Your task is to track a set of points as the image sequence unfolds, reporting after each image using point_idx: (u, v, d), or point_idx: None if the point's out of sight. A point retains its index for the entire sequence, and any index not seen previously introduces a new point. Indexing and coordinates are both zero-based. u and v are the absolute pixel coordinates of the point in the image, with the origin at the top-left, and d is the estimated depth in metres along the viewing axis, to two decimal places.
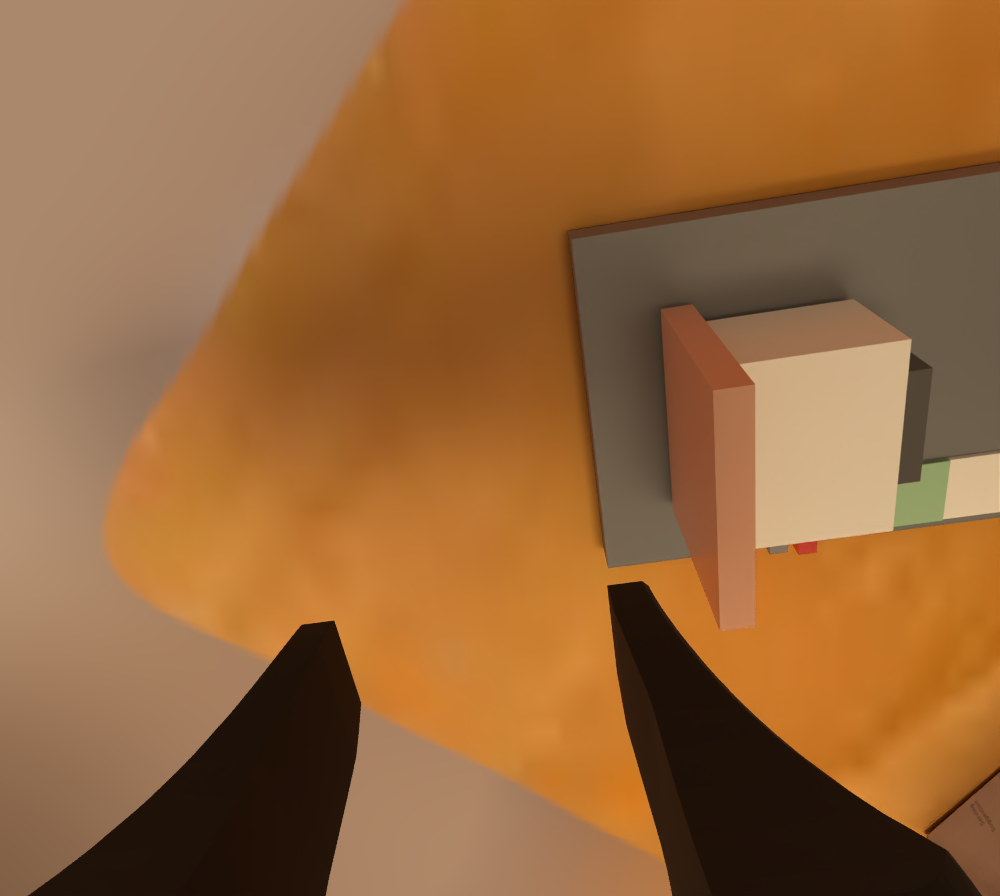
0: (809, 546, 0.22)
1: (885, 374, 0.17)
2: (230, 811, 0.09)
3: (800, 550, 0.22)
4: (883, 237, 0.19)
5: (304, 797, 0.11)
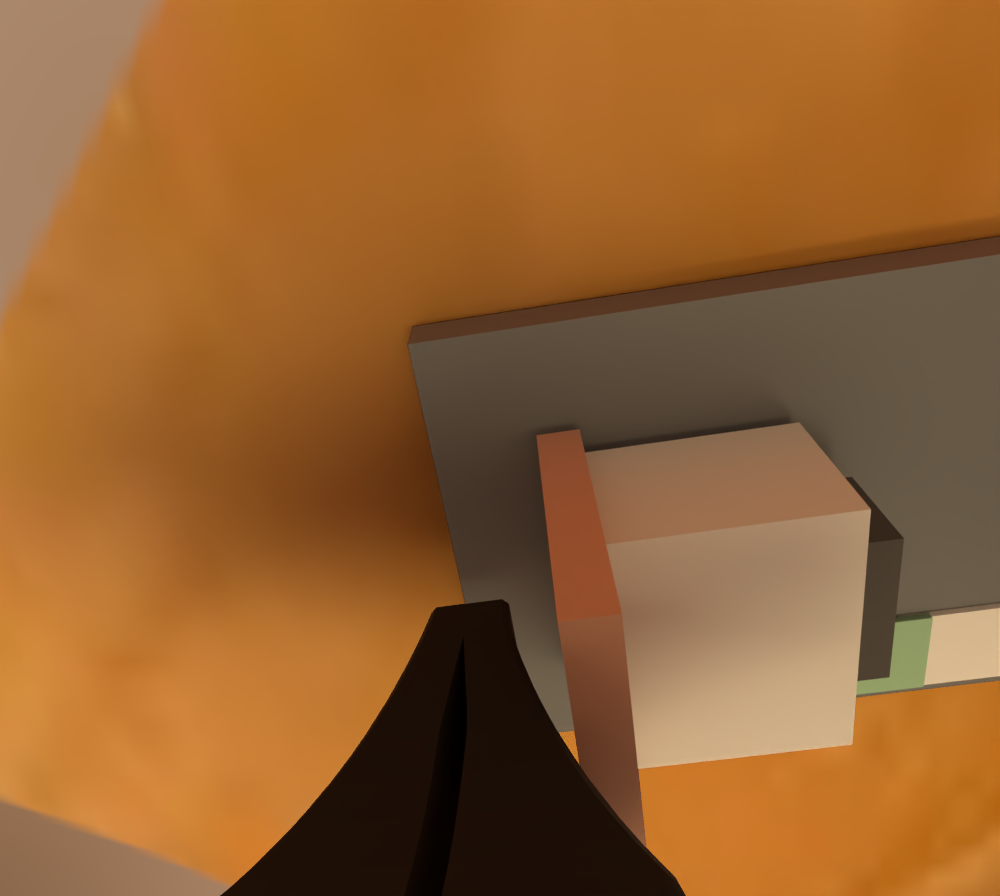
0: None
1: (834, 554, 0.12)
2: (430, 788, 0.09)
3: None
4: (837, 341, 0.14)
5: None
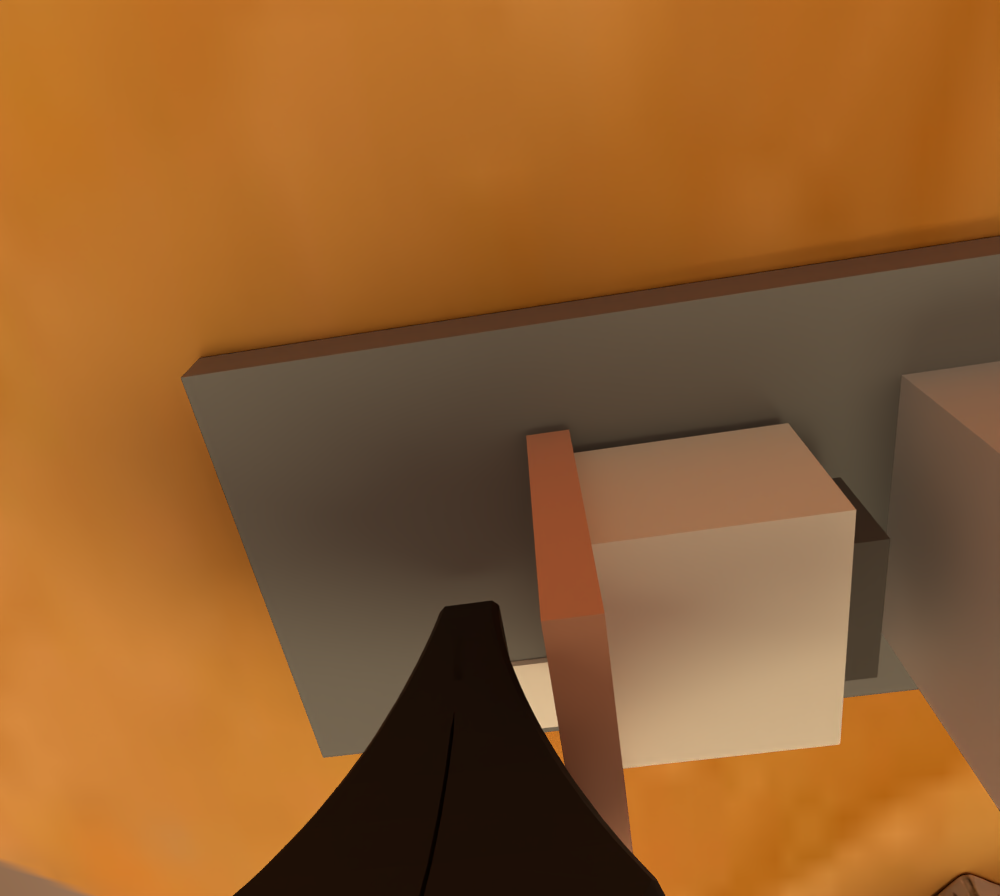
0: None
1: (820, 554, 0.12)
2: (442, 787, 0.09)
3: None
4: (600, 375, 0.14)
5: None
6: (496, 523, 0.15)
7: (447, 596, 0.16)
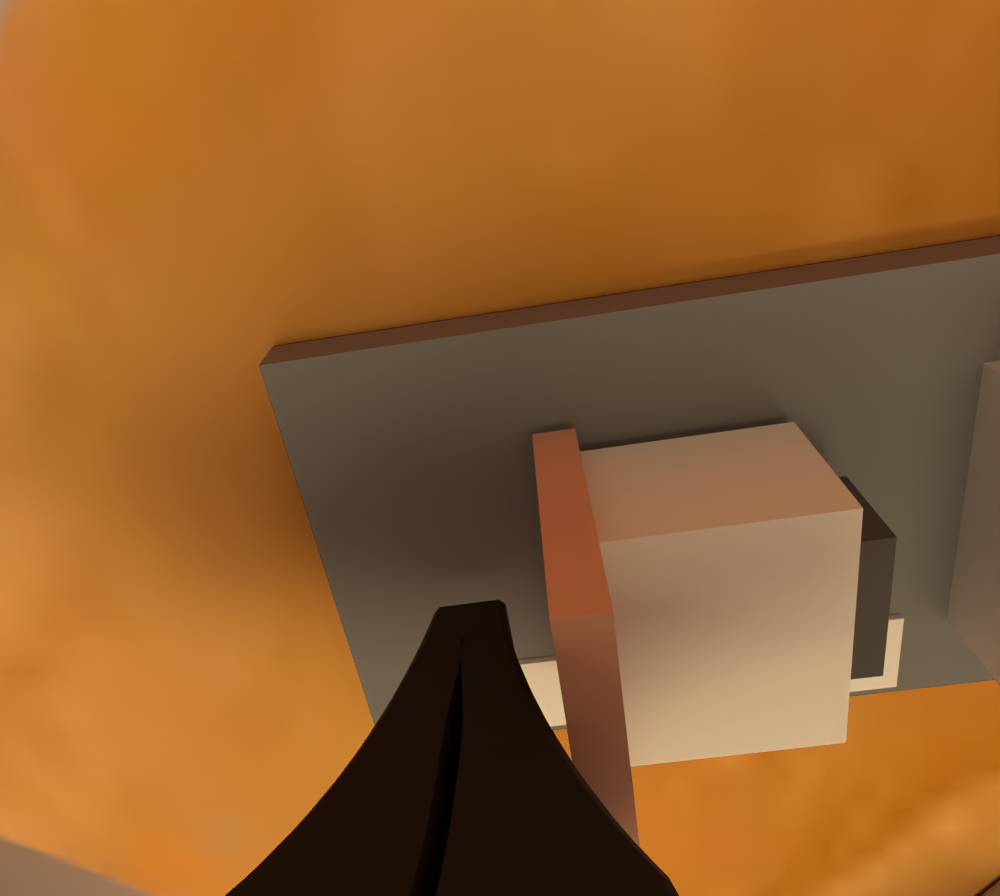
0: None
1: (827, 553, 0.12)
2: (434, 788, 0.09)
3: None
4: (681, 363, 0.14)
5: None
6: None
7: (515, 586, 0.16)
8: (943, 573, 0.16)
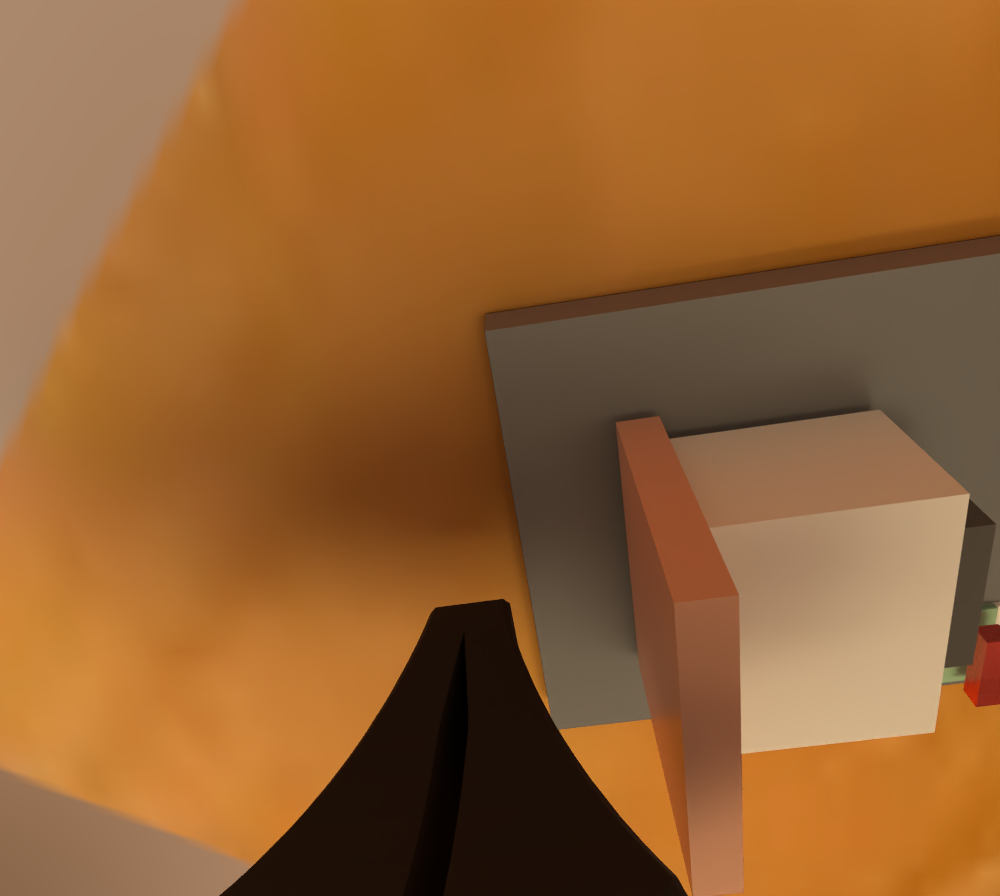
0: (992, 697, 0.16)
1: (930, 539, 0.12)
2: (429, 789, 0.09)
3: (979, 701, 0.16)
4: (914, 328, 0.14)
5: None
6: None
7: None
8: None
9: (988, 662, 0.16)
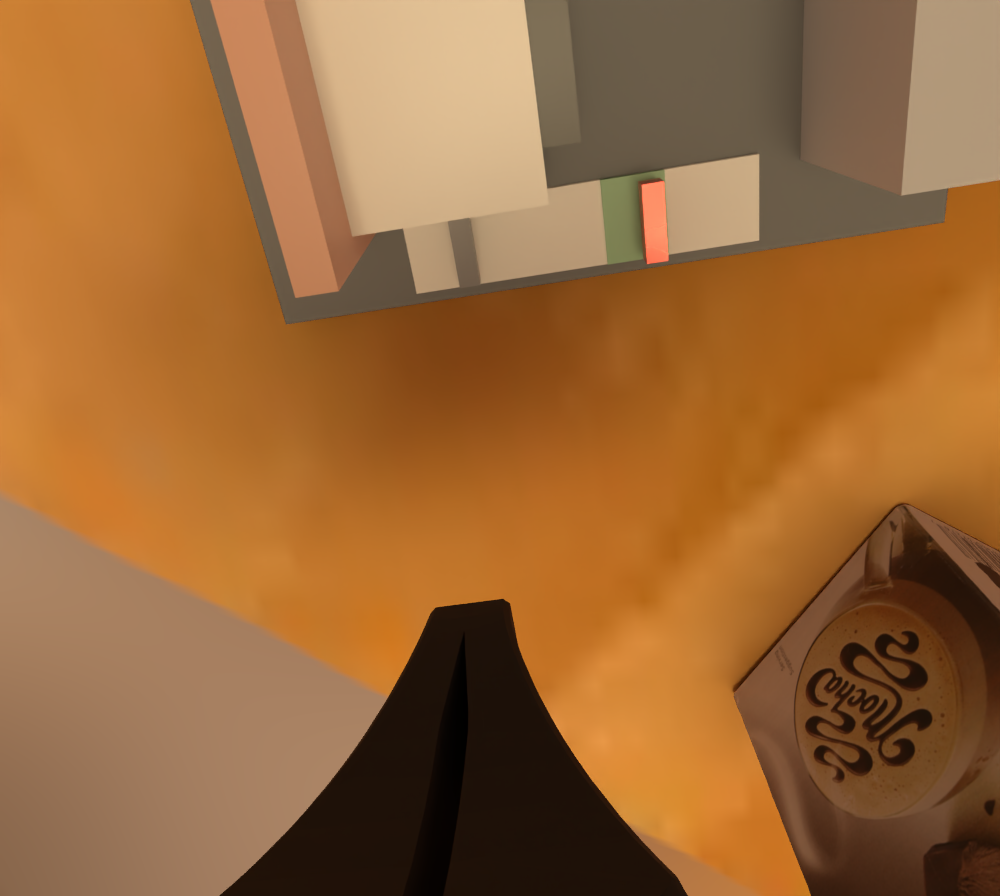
0: (659, 252, 0.18)
1: None
2: (428, 789, 0.09)
3: (649, 257, 0.18)
4: None
5: None
6: None
7: None
8: (792, 102, 0.17)
9: (648, 210, 0.17)
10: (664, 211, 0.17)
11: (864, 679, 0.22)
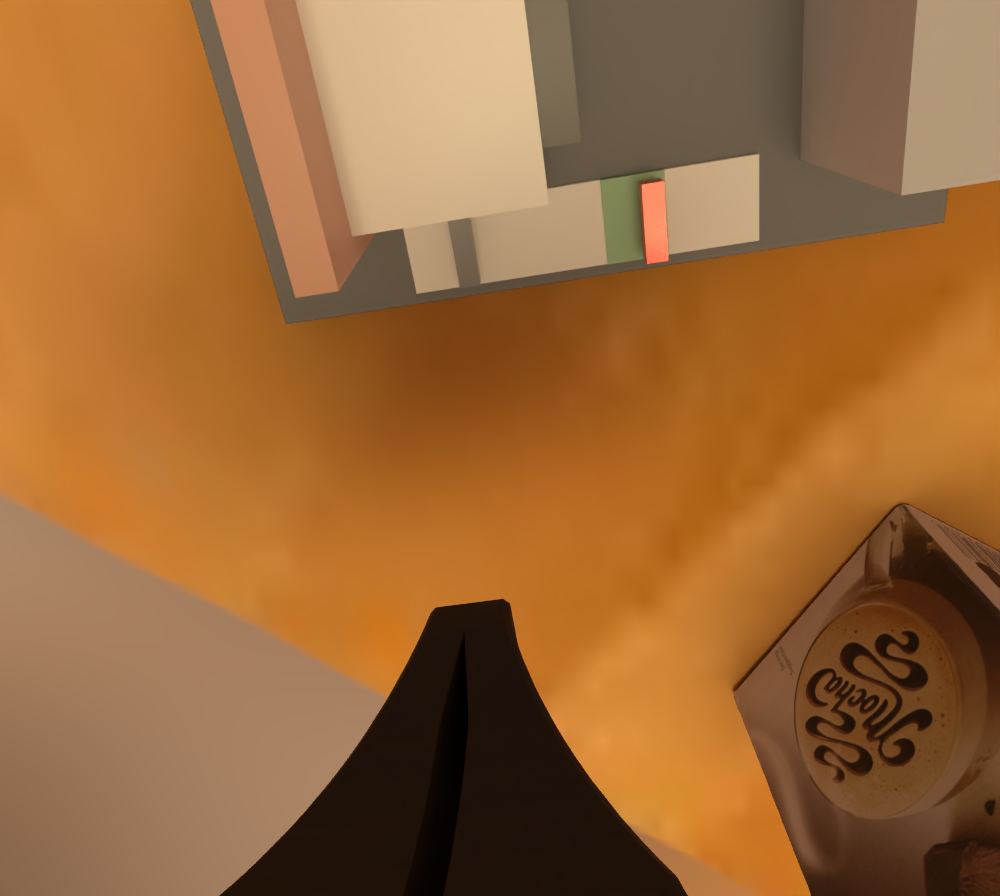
0: (659, 252, 0.18)
1: None
2: (429, 789, 0.09)
3: (649, 257, 0.18)
4: None
5: None
6: None
7: None
8: (792, 102, 0.17)
9: (648, 210, 0.17)
10: (664, 211, 0.17)
11: (864, 679, 0.22)
